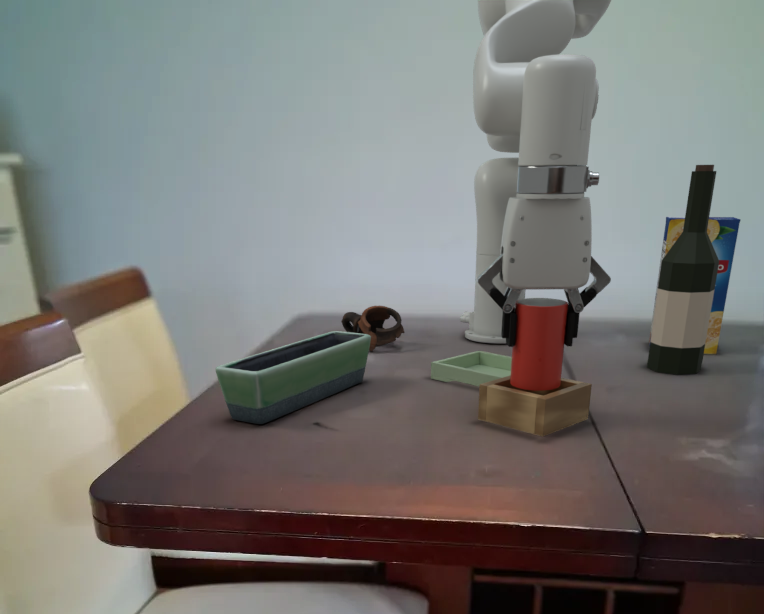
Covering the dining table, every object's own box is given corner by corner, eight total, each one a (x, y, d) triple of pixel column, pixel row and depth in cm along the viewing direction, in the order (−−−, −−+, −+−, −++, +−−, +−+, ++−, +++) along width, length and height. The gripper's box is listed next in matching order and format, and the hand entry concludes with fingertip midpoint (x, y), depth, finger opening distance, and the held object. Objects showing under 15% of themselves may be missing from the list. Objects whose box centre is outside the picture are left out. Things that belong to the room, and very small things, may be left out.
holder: (477, 423, 95) (479, 384, 93) (524, 407, 101) (526, 370, 99) (542, 441, 88) (545, 399, 86) (587, 423, 94) (592, 383, 92)
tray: (430, 378, 116) (430, 362, 115) (478, 366, 123) (478, 350, 122) (505, 396, 106) (506, 378, 105) (552, 381, 114) (553, 364, 112)
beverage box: (648, 343, 138) (665, 216, 129) (711, 346, 136) (733, 217, 127) (650, 351, 132) (669, 218, 123) (716, 354, 130) (740, 219, 121)
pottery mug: (405, 343, 143) (412, 309, 136) (391, 375, 137) (397, 340, 130) (346, 325, 143) (349, 290, 137) (330, 356, 138) (333, 321, 131)
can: (500, 384, 93) (504, 302, 89) (529, 374, 97) (535, 295, 93) (541, 393, 89) (548, 308, 85) (570, 383, 93) (578, 301, 89)
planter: (261, 430, 93) (257, 373, 90) (217, 421, 96) (212, 366, 93) (373, 381, 115) (373, 334, 112) (334, 375, 118) (333, 329, 115)
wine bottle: (705, 375, 116) (742, 164, 104) (649, 373, 118) (679, 164, 105) (696, 363, 123) (729, 164, 111) (643, 361, 125) (670, 165, 113)
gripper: (619, 182, 86) (601, 337, 94) (470, 184, 87) (465, 338, 95) (638, 184, 80) (617, 351, 87) (476, 186, 80) (470, 351, 88)
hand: (538, 342), depth 91 cm, fingers closed on can, 6 cm apart
